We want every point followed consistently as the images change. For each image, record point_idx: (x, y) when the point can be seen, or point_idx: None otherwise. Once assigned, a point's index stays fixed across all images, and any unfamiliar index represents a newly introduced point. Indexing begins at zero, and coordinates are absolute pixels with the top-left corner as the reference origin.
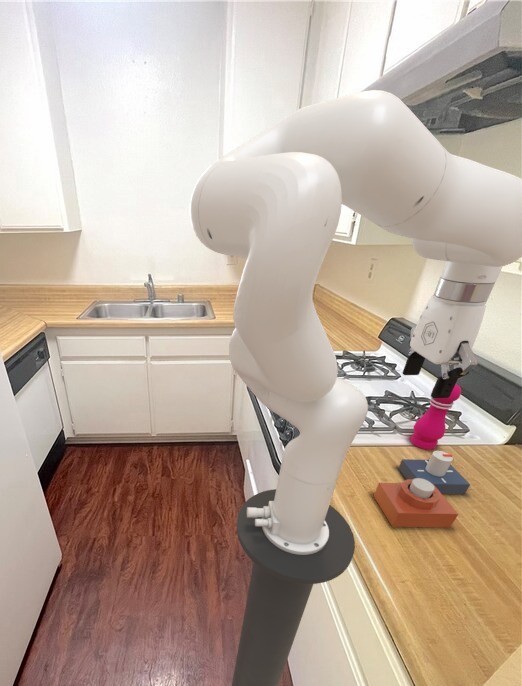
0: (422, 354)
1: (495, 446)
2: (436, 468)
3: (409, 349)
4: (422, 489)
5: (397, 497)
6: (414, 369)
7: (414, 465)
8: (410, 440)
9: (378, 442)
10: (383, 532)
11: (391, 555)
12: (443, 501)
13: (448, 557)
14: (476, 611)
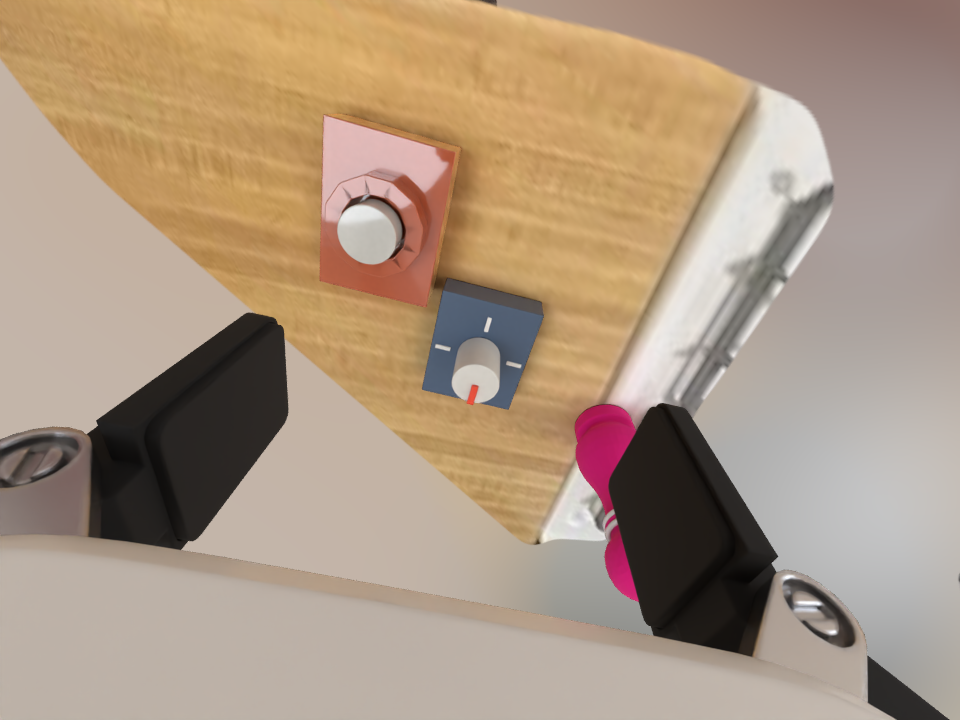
0: (412, 628)
1: (538, 525)
2: (464, 351)
3: (860, 645)
4: (344, 214)
5: (385, 162)
6: (638, 486)
7: (511, 326)
8: (622, 409)
9: (655, 332)
10: (325, 68)
11: (245, 27)
12: (361, 280)
13: (252, 188)
14: (117, 129)
